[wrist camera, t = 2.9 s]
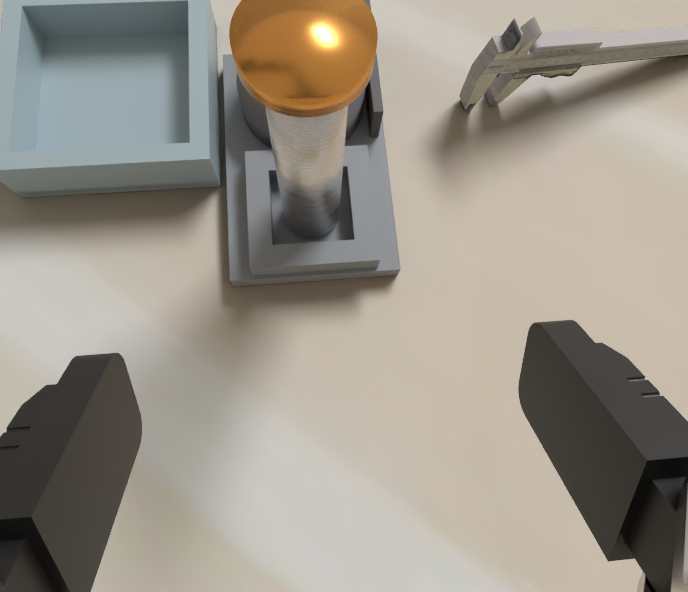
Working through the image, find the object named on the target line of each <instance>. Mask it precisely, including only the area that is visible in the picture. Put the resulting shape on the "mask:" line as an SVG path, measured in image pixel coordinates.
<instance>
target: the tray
mask: <svg viewBox="0 0 688 592" xmlns="http://www.w3.org/2000/svg"><path fill="white" fill-rule="evenodd" d="M0 182H1V183H2V184H3V185H5V186H6V187H7V188H9V189H10V190H11V191H12V192H14V193H15V194H16V195H17V196H19V197H20V198H23V197H41V196H58V195H76V194H93V193H111V192H128V191H145V190H163V189H180V188H198V187H215V186H221V178H220V142H219V105H218V69H217V32H216V23H215V19H214V15H213V11H212V7H211V3H210V0H4V2H3V11H2V21H1V31H0Z"/></svg>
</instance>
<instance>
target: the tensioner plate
mask: <svg viewBox="0 0 688 592" xmlns="http://www.w3.org/2000/svg"><path fill="white" fill-rule="evenodd" d="M364 1H365V3H366V4H367V6H368V7H369V9H370V10H371V7H370V0H364ZM223 80H224V113H225V146H226V178H227V211H228V243H229V276H230V283H231V284H232V286H233V287H234V286H248V285H263V284H277V283H291V282H305V281H320V280H334V279H348V278H362V277H377V276H391V275H398V273H399V271H400V262H399V253H398V245H397V237H396V229H395V220H394V212H393V204H392V196H391V187H390V179H389V171H388V163H387V154H386V146H385V138H384V130H383V121H382V116H383V105H382V97H381V88H380V80H379V72H378V64H377V56H376V54H375V61H374V67H373V72H372V76H371V78H370V81H369V83H368V85H367V86H366V88H365V89H364V91H363V92H362V93H361V94H360V96H359V97H358V98H357V99H355V100H354V101H353V102H352V103H351V104H349V105H348V114H347V126H346V138H345V150H344V161H343V173H342V185H341V196H340V208H339V218H338V222H337V225H336V226H335V228H334V229H333V231H332V232H331V233H329V234H328V235H327V236H325V237H323V238H320V239H315V240H307V239H303V238H300V237H298V236H296V235H295V234H293V233H292V232H291V231H290V230H289V229H288V227H287V226H286V223H285V220H284V215H283V209H282V204H281V198H280V192H279V186H278V180H277V174H276V168H275V162H274V156H273V150H272V144H271V138H270V132H269V126H268V121H267V115H266V109H265V106H263V105H262V104H260V103H259V102H258V101H256V100H255V99H254V98H253V97H252V96H251V95H250V94H249V93H248V92H247V90H246V89H245V88H244V86H243V85H242V83H241V81H240V79H239V76H238V74H237V70H236V66H235V62H234V58H233V54H232V55H223Z"/></svg>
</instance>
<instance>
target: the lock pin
mask: <svg viewBox="0 0 688 592" xmlns="http://www.w3.org/2000/svg"><path fill="white" fill-rule="evenodd" d="M229 37H230V45H231V49H232V53H233V58H234V62H235V66H236V70H237V74H238V76H239V79H240V81H241V83H242V85H243V86H244V88H245V89H246V90H247V92H248V93H249V94H250V95H251V96H252V97H253V98H254V99H255V100H256V101H258V102H259V103H260V104H262V105H263V106H265V109H266V115H267V121H268V126H269V132H270V138H271V144H272V150H273V156H274V162H275V168H276V174H277V180H278V186H279V192H280V198H281V204H282V209H283V215H284V220H285V223H286V226H287V227H288V229H289V230H290V231H291V232H292V233H293V234H295V235H296V236H298V237H300V238H303V239H307V240H315V239H320V238H323V237H325V236H327V235H328V234H329V233H331V232H332V231H333V229H334V228H335V226H336V225H337V222H338V218H339V208H340V196H341V185H342V173H343V161H344V150H345V138H346V126H347V114H348V105H349V104H351V103H352V102H353V101H354V100H355V99H357V98H358V97H359V96H360V94H361V93H362V92H363V91H364V89H365V88H366V86H367V85H368V83H369V81H370V78H371V76H372V72H373V67H374V61H375V54H376V47H377V27H376V22H375V19H374V17H373V14H372V12H371V10H370V9H369V7H368V6H367V4H366V3H365V1H364V0H242V1H241V2H240V3H239V5H238V6H237V8H236V10H235V12H234V14H233V17H232V19H231V24H230V33H229Z"/></svg>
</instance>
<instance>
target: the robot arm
mask: <svg viewBox="0 0 688 592" xmlns="http://www.w3.org/2000/svg"><path fill="white" fill-rule="evenodd" d="M519 399H520V403H521V407H522V410H523V412H524V414H525V416H526V418H527V420H528V421H529V423H530V425H531V427H532V428H533V430H534V432H535V434H536V435H537V437H538V439H539V441H540V442H541V444H542V446H543V448H544V449H545V451H546V453H547V455H548V456H549V458H550V460H551V462H552V463H553V465H554V467H555V469H556V470H557V472H558V474H559V476H560V477H561V479H562V481H563V483H564V485H565V486H566V488H567V490H568V492H569V493H570V495H571V497H572V499H573V500H574V502H575V504H576V506H577V507H578V509H579V511H580V513H581V514H582V516H583V518H584V520H585V521H586V523H587V525H588V527H589V528H590V530H591V532H592V534H593V535H594V537H595V539H596V541H597V542H598V544H599V546H600V548H601V549H602V551H603V553H604V555H605V556H606V558H607V560H608V561H615V560H624V559H633V558H635V559H636V561H637V562H638V564H639V566H640V567H641V569H642V570H643V573H642V575H641V577H640V580H639V584H638V591H637V592H688V421H687V420H686V419H685V418H684V417H683V416H682V415H681V414H680V413H679V412H678V411H677V410H676V409H675V408H674V407H673V406H672V405H671V404H670V403H669V401H668V400H667V399H666V398H665V397H664V396H660V394H659V391H658V390H657V389H656V388H655V387H654V386H653V385H652V384H651V382H650V381H649V380H645V376H644V375H643V374H642V373H641V372H640V371H639V370H638V369H637V368H636V367H635V366H634V365H633V363H632V362H631V361H630V360H629V359H628V358H627V357H625V356H623V355H622V354H620V353H618V352H617V351H615V350H613V349H612V348H610V347H608V346H607V345H605V344H603V343H595V342H594V341H593V340H592V339H591V338H590V337H589V336H588V335H587V333H586V332H585V331H584V330H583V329H582V328H581V327H580V326H579V324H578V323H576V322H575V321H573V320H564V321H551V322H538V323H533V324H532V325H531V327H530V329H529V332H528V336H527V342H526V347H525V353H524V358H523V363H522V369H521V374H520V379H519ZM141 436H142V421H141V414H140V411H139V407H138V404H137V401H136V397H135V394H134V391H133V388H132V384H131V381H130V378H129V374H128V371H127V368H126V364H125V362H124V359H123V357H122V356H121V355H120V354H119V353H110V354H97V355H84V356H76V357H74V358H73V359H72V360H71V362H70V364H69V365H68V367H67V368H66V370H65V372H64V373H63V375H62V377H61V378H60V380H59V382H58V383H57V384H55V385H46V386H45V387H43V388H42V389H41V390H40V391H39V392H37V393H36V394H35V395H34V396H33V397H31V398H30V399H29V400H28V401H26V402H25V403H24V404H23V405H22V406H21V407H20V409H19V410H18V412H17V413H16V415H15V416H14V418H13V419H12V421H11V422H10V424H9V425H8V427H7V432H6V433H3V434H2V436H1V437H0V592H90V591H91V589H92V586H93V583H94V580H95V577H96V574H97V571H98V568H99V565H100V562H101V559H102V556H103V553H104V550H105V547H106V544H107V541H108V538H109V535H110V532H111V529H112V526H113V523H114V520H115V517H116V515H117V512H118V509H119V506H120V503H121V500H122V497H123V494H124V491H125V488H126V485H127V482H128V479H129V476H130V473H131V470H132V467H133V464H134V461H135V458H136V455H137V452H138V449H139V446H140V442H141Z"/></svg>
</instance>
